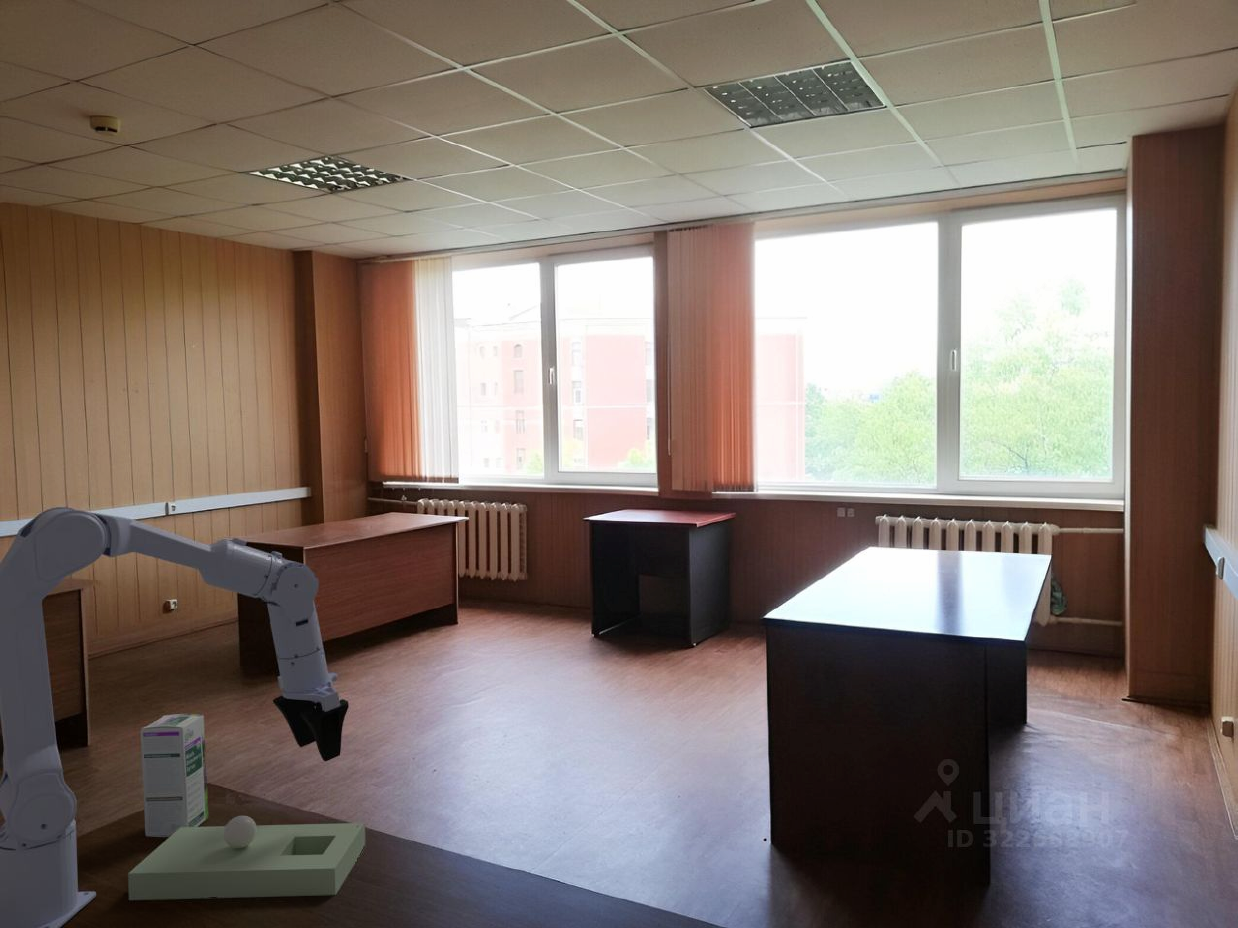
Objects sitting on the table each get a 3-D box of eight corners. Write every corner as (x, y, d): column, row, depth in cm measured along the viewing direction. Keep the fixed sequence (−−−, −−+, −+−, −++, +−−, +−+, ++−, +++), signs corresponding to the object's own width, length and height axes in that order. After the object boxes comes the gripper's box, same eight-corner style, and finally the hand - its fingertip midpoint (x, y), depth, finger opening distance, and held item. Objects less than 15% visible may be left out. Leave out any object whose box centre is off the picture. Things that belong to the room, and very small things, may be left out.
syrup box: (187, 837, 114) (184, 726, 114) (142, 837, 114) (139, 726, 114) (209, 818, 120) (206, 712, 120) (166, 819, 120) (163, 713, 120)
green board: (128, 899, 98) (128, 873, 98) (181, 850, 110) (180, 827, 110) (335, 894, 99) (334, 868, 98) (365, 846, 111) (364, 822, 110)
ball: (218, 854, 103) (217, 823, 102) (231, 840, 106) (231, 810, 106) (249, 853, 103) (248, 822, 103) (261, 839, 106) (261, 810, 106)
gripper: (354, 649, 111) (372, 751, 113) (306, 633, 122) (324, 726, 123) (299, 668, 106) (320, 774, 108) (255, 650, 117) (275, 746, 119)
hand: (319, 750), depth 115 cm, fingers open, 7 cm apart
